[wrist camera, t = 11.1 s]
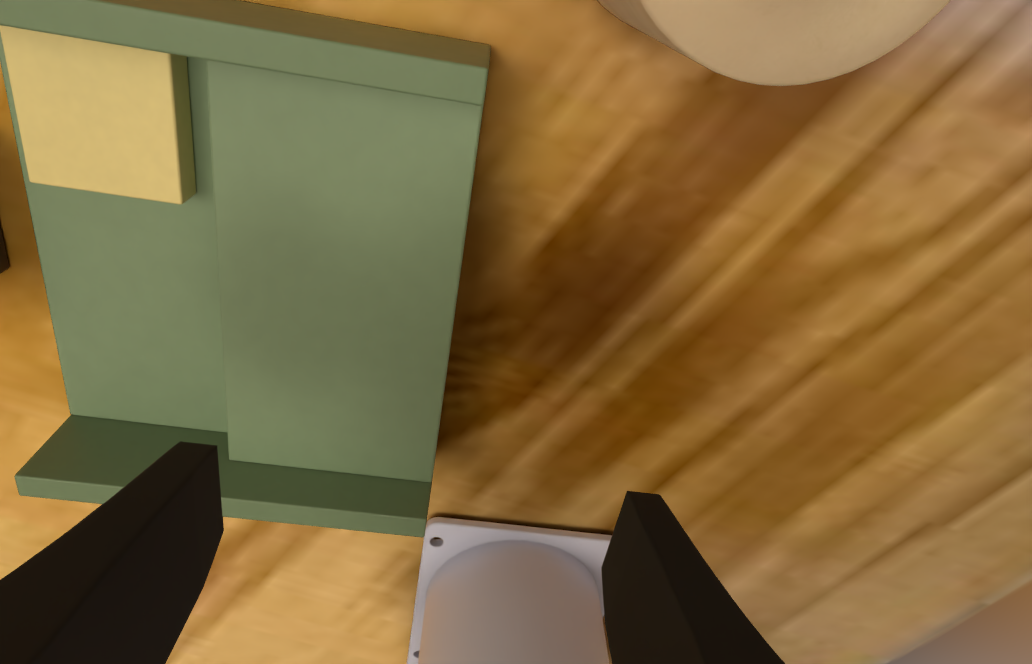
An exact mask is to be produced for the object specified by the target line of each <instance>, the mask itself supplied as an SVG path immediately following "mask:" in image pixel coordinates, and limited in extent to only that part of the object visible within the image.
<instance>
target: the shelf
mask: <svg viewBox="0 0 1032 664" xmlns="http://www.w3.org/2000/svg"><path fill="white" fill-rule="evenodd" d="M0 25H2V26H8V27H14V28H20V29H26V30H32V31H38V32H44V33H50V34H56V35H62V36H68V37H74V38H80V39H86V40H92V41H98V42H104V43H110V44H115V45H121V46H127V47H133V48H139V49H145V50H151V51H157V52H163V53H169V54H175V55H181V56H187V70H188V84H189V98H190V112H191V127H192V141H193V155H194V169H195V183H196V194H195V195H193V196H192V197H191V198H190V199H188V200H187V201H186V202H184V203H183V204H174V203H167V202H160V201H153V200H146V199H140V198H133V197H126V196H119V195H112V194H106V193H99V192H92V191H85V190H78V189H72V188H65V187H58V186H51V185H44V184H38V183H32V182H30V180H29V176H28V171H27V166H26V161H25V155H24V150H23V145H22V140H21V135H20V130H19V125H18V120H17V114H16V109H15V104H14V99H13V94H12V89H11V84H10V79H9V73H8V68H7V63H6V58H5V53H4V48H3V43H2V38H1V32H0V62H1V67H2V72H3V77H4V82H5V87H6V92H7V98H8V103H9V108H10V113H11V118H12V123H13V128H14V133H15V138H16V143H17V148H18V153H19V158H20V163H21V168H22V173H23V178H24V183H25V188H26V193H27V198H28V203H29V208H30V213H31V218H32V223H33V228H34V233H35V238H36V243H37V248H38V253H39V258H40V263H41V268H42V273H43V278H44V283H45V288H46V293H47V298H48V303H49V308H50V313H51V318H52V323H53V329H54V334H55V339H56V344H57V349H58V354H59V359H60V364H61V369H62V374H63V379H64V384H65V389H66V394H67V399H68V404H69V409H70V413H71V414H72V415H71V416H70V417H69V418H68V419H67V420H66V421H65V422H64V423H63V424H62V425H61V426H60V427H59V429H58V430H57V431H56V432H55V433H54V434H53V435H52V436H51V437H50V438H49V439H48V440H47V441H46V442H45V444H44V445H43V446H42V447H41V448H40V449H39V450H38V451H37V452H36V453H35V454H34V455H33V456H32V457H31V459H30V460H29V461H28V462H27V463H26V464H25V465H24V466H23V467H22V468H21V469H20V470H19V471H18V472H17V473H16V475H15V480H16V484H17V488H18V492H19V495H21V496H30V497H40V498H50V499H59V500H69V501H78V502H88V503H98V504H103V503H105V502H106V501H107V500H109V499H110V498H111V497H112V496H114V495H115V494H116V493H117V492H118V491H120V490H121V489H122V488H123V487H125V486H126V485H127V484H128V483H129V482H131V481H132V480H133V479H134V478H136V477H137V476H138V475H139V474H140V473H142V472H143V471H144V470H145V469H146V468H148V467H149V466H150V465H151V464H152V463H154V462H155V461H156V460H157V459H158V458H160V457H161V456H162V455H163V454H164V453H166V452H167V451H168V450H169V449H171V448H172V447H173V446H174V445H176V444H177V443H179V442H180V441H182V442H191V443H200V444H209V445H217V450H218V463H219V476H220V489H221V502H222V515H223V517H232V518H242V519H251V520H261V521H270V522H280V523H290V524H299V525H309V526H319V527H328V528H338V529H347V530H357V531H367V532H376V533H386V534H395V535H405V536H415V537H424V536H425V529H426V522H427V515H428V507H429V500H430V492H431V485H432V477H433V470H434V463H435V455H436V448H437V441H438V433H439V426H440V419H441V412H442V404H443V397H444V390H445V383H446V375H447V368H448V361H449V353H450V346H451V339H452V332H453V324H454V317H455V310H456V302H457V295H458V288H459V281H460V273H461V266H462V259H463V251H464V244H465V237H466V230H467V222H468V215H469V208H470V200H471V193H472V186H473V179H474V171H475V164H476V157H477V149H478V142H479V135H480V128H481V120H482V113H483V106H484V100H485V93H486V86H487V78H488V71H489V62H490V54H491V46H490V45H488V44H482V43H477V42H471V41H465V40H460V39H454V38H448V37H443V36H437V35H432V34H426V33H420V32H415V31H409V30H403V29H398V28H392V27H386V26H381V25H375V24H370V23H364V22H358V21H353V20H347V19H341V18H336V17H330V16H324V15H319V14H313V13H308V12H302V11H296V10H291V9H285V8H279V7H274V6H268V5H262V4H257V3H251V2H245V1H240V0H0Z"/></svg>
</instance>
